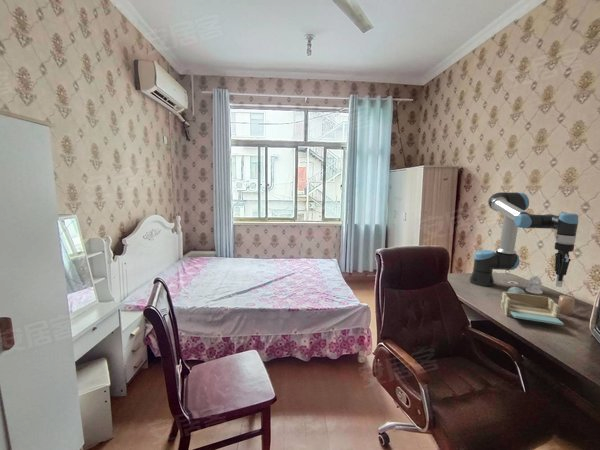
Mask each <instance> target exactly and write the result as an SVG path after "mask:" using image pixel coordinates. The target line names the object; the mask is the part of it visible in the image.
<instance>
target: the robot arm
mask: <svg viewBox="0 0 600 450" xmlns="http://www.w3.org/2000/svg"><path fill="white" fill-rule="evenodd" d="M487 204H488V206H489V208H490V209H491V210H493V211H495V212H499V213H501V214H503V221H502V226H501V227H502V228H501V235H500V240H499V247H498V248H496V249H495V250H496V251H494V250H492V249H491V250H488V249H481V250H476V252H475V253H474V257H473V259H474V261H473V269H472V272H471V275H470V277H469V280H468V281H469V282H470V283H471V284H473V285H475V286H480V287H481V286H482V287H494V286H495V278H494V276H493V272H494V271H493V270H497V271H498V270H501V271H504V270H505V271H514V270H516V269H518V267H519V265H520V256H519V255H518V253H517V251H516V250H515V247H516V241H517V236H518V235H517V234H518V230H519V228H520V229H547V230H548V229H551V230H556V235H555V236H554V238H555V241H556V242H555V243H554V246H553V247H554V249H555V250H556V251H557V252H556V253H555V254H554V256H555V259H554V260H555V261H554V272H555V279H554V287H559V288H562V287H563V282H564V276H566V275H567V273H568V269H569V266H570V265H569V264H570V262H571V258H570V253H571V252H574V250H575V243H576V237H577V232H578V231H577V230H578V226H579V217H580V216H579V215H578V214H577V213H570V212H561V213H559V214H558V215H556V214H549V213H548V214H532V213H529V212H528V211H526V210H528V208H529V206H530V199H529V197H528V195H527V194H526V193H523V192H517V191H516V192H501V191H500V192H497V193H494V194H492V195H491V196H490V197H489V198H488V203H487Z"/></svg>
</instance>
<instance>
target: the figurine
mask: <svg viewBox="0 0 600 450" xmlns="http://www.w3.org/2000/svg"><path fill="white" fill-rule="evenodd" d="M526 283H527V284H526V286H527V287H526V288H525V291H526V292H528V293H531V294H535V295H542V294H543V291H542V290H541V289H542V288H543V287H544V284H543V282H542V279H541V278H540V275H534V276H531V278H529V280H526Z"/></svg>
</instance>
